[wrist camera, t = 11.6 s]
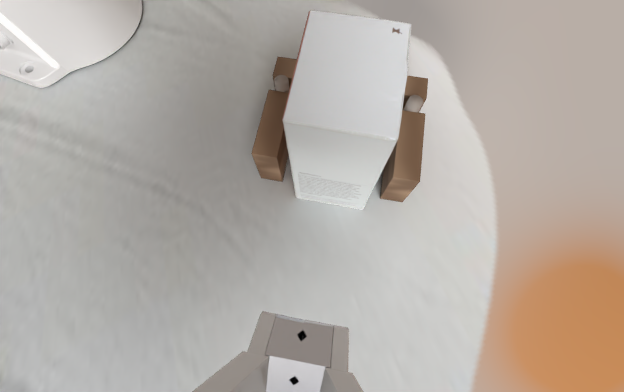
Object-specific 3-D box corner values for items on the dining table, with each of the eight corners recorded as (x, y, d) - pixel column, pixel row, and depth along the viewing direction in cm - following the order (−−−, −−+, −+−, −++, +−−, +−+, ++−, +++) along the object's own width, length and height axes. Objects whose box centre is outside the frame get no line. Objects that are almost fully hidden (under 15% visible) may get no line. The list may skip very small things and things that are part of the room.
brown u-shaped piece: (261, 178, 30) (250, 149, 24) (282, 92, 33) (277, 51, 27) (402, 202, 29) (422, 178, 24) (410, 112, 32) (430, 73, 27)
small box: (310, 123, 32) (309, 5, 19) (374, 133, 31) (415, 20, 19) (293, 200, 29) (279, 120, 17) (363, 212, 29) (402, 140, 16)
